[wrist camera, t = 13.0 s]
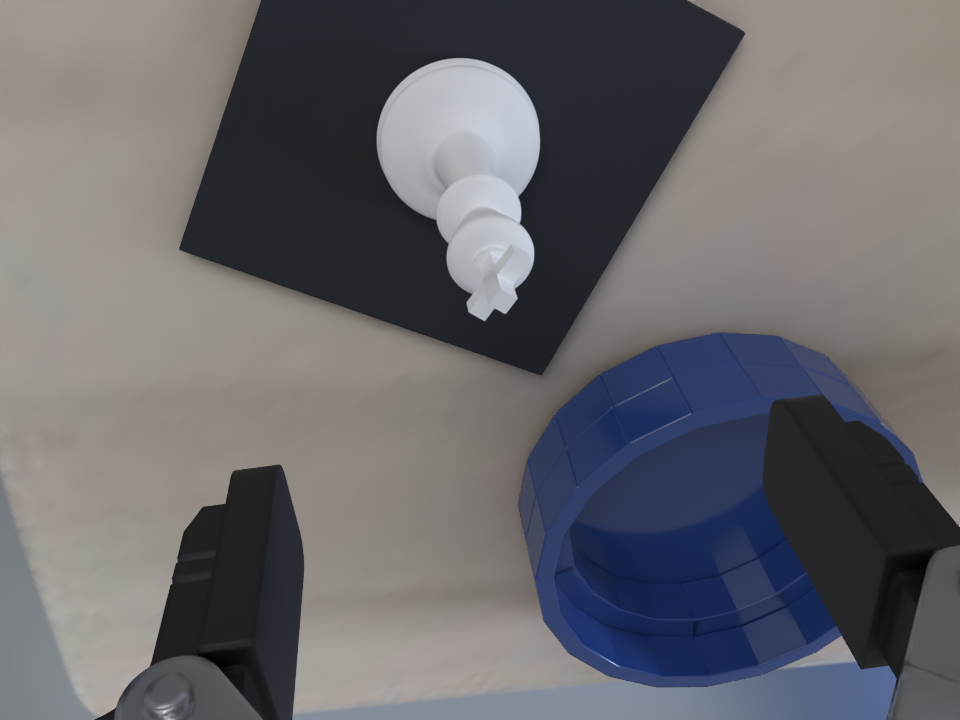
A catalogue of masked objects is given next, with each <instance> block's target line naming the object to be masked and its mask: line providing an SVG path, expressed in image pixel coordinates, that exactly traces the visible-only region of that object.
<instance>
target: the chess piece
mask: <svg viewBox="0 0 960 720" xmlns="http://www.w3.org/2000/svg"><path fill="white" fill-rule="evenodd" d="M377 152H378V157H379V161H380V164H381V167H382V170H383V172H384V174H385V176H386V178H387V180H388V182H389V184H390V186H391V187H392V189H393V190H394V192H395V193H396V194H397V195H398V196H399V198H400V199H401V200H402V201H403V202H404V203H406V204H407V205H408V206H409V207H411V208H412V209H413V210H415V211H417V212H418V213H420V214H422V215H424V216H426V217H429V218H431V219H435V220H437V225H438V229H439V231H440V233H441V235H442V236H443V238H444V239H445V240H446V242H447V243H449V245H448V249H447V257H446V258H447V267H448V270H449V273H450V275H451V277H452V278H453V280H454V281H455V282H456V283H457V285H458V286H460V287H461V288H462V289H463V290H465V291H467V292H469V293H471V294H472V296H471V297H470V298H469V300H468V301H467V302H466V303H467V307H468V312H469V313H471V314H473V315H474V316H476V317H478V318H480V319H482V320H483V321H485V320H486V319H487V318H488V316H489V315H490V314H491V313H492V311H493V310H494V309H497V310H499V311H501V312H502V313H504V314H506V313H507V312H508V310H509V309H510V308H511V307H512V305H513V304H514V303H515V301H516V300H517V299H518V298H517V295H516V292H515V288H517V287H518V286H519V285H520V284H521V283H522V282H523V281H524V280H525V279H526V278H527V276H528V275H529V273H530V271H531V269H532V266H533V262H534V246H533V242H532V240H531V238H530V236H529V234H528V232H527V231H526V230H525V229H524V228H523V226H521V225H520V220H521V205H520V201H519V198H518V196H519V195H520V194H521V193H522V192H523V191H524V189H525V188H526V186H527V185H528V183H529V182H530V180H531V178H532V176H533V174H534V171H535V169H536V166H537V162H538V158H539V152H540V132H539V123H538V118H537V114H536V111H535V108H534V106H533V104H532V102H531V100H530V98H529V96H528V94H527V93H526V91H525V90H524V89H523V88H522V86H521V85H520V84H519V83H518V82H517V81H516V80H515V79H514V78H513V77H512V76H510V75H509V74H508V73H506V72H505V71H503V70H502V69H500V68H498V67H496V66H494V65H492V64H489V63H486V62H483V61H480V60H475V59H468V58H452V59H445V60H440V61H437V62H434V63H431V64H428V65H426V66H424V67H422V68H420V69H418V70H416V71H415V72H413V73H412V74H410V75H409V76H408V77H406V78H405V79H404V80H403V81H402V82H401V83H400V84H399V85H398V86H397V87H396V88H395V90H394V91H393V92H392V94H391V95H390V97H389V98H388V100H387V102H386V104H385V105H384V108H383V110H382V113H381V115H380V119H379V123H378V128H377Z"/></svg>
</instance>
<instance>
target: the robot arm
mask: <svg viewBox="0 0 960 720" xmlns="http://www.w3.org/2000/svg"><path fill="white" fill-rule="evenodd" d="M763 486H764V492H765V496H766V500H767V503H768V505H769V508H770V510H771V512H772V513H773V515H774V517H775V519H776V520H777V522H778V524H779V526H780V528H781V529H782V531H783V533H784V535H785V536H786V538H787V540H788V542H789V543H790V545H791V547H792V549H793V550H794V552H795V554H796V556H797V557H798V559H799V561H800V563H801V565H802V566H803V568H804V570H805V572H806V573H807V575H808V577H809V579H810V580H811V582H812V584H813V586H814V587H815V589H816V591H817V593H818V594H819V596H820V598H821V600H822V601H823V603H824V605H825V607H826V609H827V610H828V612H829V614H830V616H831V617H832V619H833V621H834V623H835V624H836V626H837V628H838V630H839V631H840V633H841V635H842V637H843V638H844V640H845V642H846V644H847V645H848V647H849V649H850V651H851V653H852V654H853V656H854V658H855V660H856V661H857V663H858V665H859V667H860V668H861V669H867V668H874V667H880V666H887V665H889V667H890V668H891V670H892V672H893V673H894V674H895V676H896V678H897V680H896V684H895V688H894V692H893V695H892V699H891V703H890V708H889V712H888V716H887V720H960V527H959V526H958V525H957V524H956V522H955V521H954V520H953V519H952V517H951V516H950V515H949V514H948V513H947V511H946V510H945V509H944V508H943V506H942V505H941V504H940V503H939V501H938V500H937V499H936V498H935V497H934V495H933V494H932V493H931V492H930V490H929V489H928V488H927V487H926V485H925V484H924V483H923V482H922V483H920V481H919V477H918V476H917V474H916V473H915V472H914V471H913V470H912V468H911V467H910V466H909V465H908V464H907V465H906V464H905V460H904V458H903V457H902V456H901V455H900V454H899V452H898V451H897V450H896V449H895V447H894V446H893V445H892V444H891V442H890V441H889V440H888V439H887V438H886V437H884V436H883V435H881V434H880V433H878V432H877V431H875V430H873V429H872V428H870V427H869V426H867V425H865V424H864V423H862V422H861V421H859V420H857V421H849V422H845V421H844V420H843V419H842V417H841V416H840V415H839V414H838V412H837V411H836V410H835V408H834V407H833V406H832V404H831V403H830V402H829V400H828V399H827V398H826V397H825V396H823V395H821V394H817V395H810V396H802V397H795V398H787V399H780V400H775V401H774V402H773V403H772V405H771V409H770V415H769V423H768V432H767V440H766V449H765V457H764V466H763ZM177 559H178V563H176V565H175V569H174V573H173V577H172V582H173V583H172V585H170V589H169V593H168V597H167V601H166V605H165V609H164V613H163V617H162V621H161V626H160V630H159V634H158V638H157V642H156V646H155V650H154V654H153V658H152V662H151V665H150V667H149V668H147V669H146V670H144V671H143V672H142V673H140V674H139V675H138V676H137V677H136V678H135V679H134V680H133V681H131V683H130V684H129V685H128V686H127V687H126V689H125V690H124V692H123V693H122V695H121V697H120V699H119V701H118V703H117V706H116V708H115V709H113V710H112V711H110V712H109V713H107V714H105V715H104V716H101V717H99V718H97V719H95V720H292V715H293V703H294V691H295V678H296V666H297V653H298V641H299V629H300V616H301V604H302V591H303V579H304V555H303V545H302V539H301V534H300V530H299V526H298V523H297V519H296V515H295V511H294V507H293V504H292V500H291V496H290V492H289V488H288V485H287V481H286V477H285V474H284V471H283V468H282V466H281V465H272V466H265V467H257V468H250V469H242V470H235V471H233V472H232V475H231V479H230V484H229V489H228V494H227V499H226V504H221V505H214V506H206V507H202V509H201V510H200V511H199V513H198V514H197V515H196V517H195V518H194V519H193V520H192V522H191V523H190V524H189V526H188V527H187V528H186V530H185V531H184V533H183V537H182V541H181V545H180V549H179V553H178V557H177Z"/></svg>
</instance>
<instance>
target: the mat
mask: <svg viewBox="0 0 960 720" xmlns="http://www.w3.org/2000/svg"><path fill="white" fill-rule="evenodd" d="M744 35H745V32H744V31H742V30H741V29H739V28H737V27H735V26H733V25H731V24H730V23H728V22H726V21H724V20H722V19H720V18H718V17H716V16H715V15H713V14H711V13H709V12H707V11H705V10H703V9H702V8H700V7H698V6H696V5H694V4H692V3H690V2H688V1H687V0H261V3H260V6H259V9H258V12H257V15H256V18H255V21H254V24H253V27H252V30H251V33H250V36H249V39H248V42H247V45H246V48H245V51H244V54H243V57H242V60H241V63H240V66H239V69H238V72H237V75H236V78H235V81H234V84H233V87H232V90H231V93H230V96H229V99H228V102H227V105H226V108H225V111H224V114H223V117H222V120H221V123H220V127H219V130H218V133H217V136H216V139H215V142H214V145H213V148H212V151H211V154H210V157H209V160H208V163H207V166H206V169H205V172H204V175H203V178H202V181H201V184H200V187H199V190H198V193H197V196H196V199H195V202H194V205H193V208H192V211H191V214H190V217H189V220H188V223H187V226H186V229H185V232H184V235H183V238H182V241H181V244H180V247H179V249H180V250H181V251H184V252H187V253H190V254H193V255H196V256H199V257H201V258H204V259H207V260H210V261H213V262H216V263H219V264H222V265H224V266H227V267H230V268H233V269H236V270H239V271H242V272H245V273H248V274H250V275H253V276H256V277H259V278H262V279H265V280H268V281H271V282H273V283H276V284H279V285H282V286H285V287H288V288H291V289H294V290H297V291H299V292H302V293H305V294H308V295H311V296H314V297H317V298H320V299H323V300H325V301H328V302H331V303H334V304H337V305H340V306H343V307H346V308H348V309H351V310H354V311H357V312H360V313H363V314H366V315H369V316H372V317H374V318H377V319H380V320H383V321H386V322H389V323H392V324H395V325H397V326H400V327H403V328H406V329H409V330H412V331H415V332H418V333H421V334H423V335H426V336H429V337H432V338H435V339H438V340H441V341H444V342H447V343H449V344H452V345H455V346H458V347H461V348H464V349H467V350H470V351H472V352H475V353H478V354H481V355H484V356H487V357H490V358H493V359H496V360H498V361H501V362H504V363H507V364H510V365H513V366H516V367H519V368H521V369H524V370H527V371H530V372H533V373H536V374H539V375H542V374H543V372H544V370H545V369H546V367H547V365H548V364H549V362H550V360H551V359H552V357H553V355H554V354H555V352H556V350H557V349H558V347H559V345H560V344H561V342H562V340H563V339H564V337H565V335H566V334H567V332H568V330H569V329H570V327H571V325H572V323H573V322H574V320H575V318H576V317H577V315H578V313H579V312H580V310H581V308H582V307H583V305H584V303H585V302H586V300H587V298H588V297H589V295H590V293H591V292H592V290H593V288H594V287H595V285H596V283H597V282H598V280H599V278H600V276H601V275H602V273H603V271H604V270H605V268H606V266H607V265H608V263H609V261H610V260H611V258H612V256H613V255H614V253H615V251H616V250H617V248H618V246H619V245H620V243H621V241H622V240H623V238H624V236H625V235H626V233H627V231H628V229H629V228H630V226H631V224H632V223H633V221H634V219H635V218H636V216H637V214H638V213H639V211H640V209H641V208H642V206H643V204H644V203H645V201H646V199H647V198H648V196H649V194H650V193H651V191H652V189H653V188H654V186H655V184H656V182H657V181H658V179H659V177H660V176H661V174H662V172H663V171H664V169H665V167H666V166H667V164H668V162H669V161H670V159H671V157H672V156H673V154H674V152H675V151H676V149H677V147H678V146H679V144H680V142H681V141H682V139H683V137H684V135H685V134H686V132H687V130H688V129H689V127H690V125H691V124H692V122H693V120H694V119H695V117H696V115H697V114H698V112H699V110H700V109H701V107H702V105H703V104H704V102H705V100H706V99H707V97H708V95H709V94H710V92H711V90H712V88H713V87H714V85H715V83H716V82H717V80H718V78H719V77H720V75H721V73H722V72H723V70H724V68H725V67H726V65H727V63H728V62H729V60H730V58H731V57H732V55H733V53H734V52H735V50H736V48H737V47H738V45H739V43H740V41H741V40H742V38H743V36H744ZM452 58H468V59H475V60H480V61H483V62H486V63H489V64H492V65H494V66H496V67H498V68H500V69H502V70H503V71H505V72H506V73H508V74H509V75H510V76H512V77H513V78H514V79H515V80H516V81H517V82H518V83H519V84H520V85H521V86H522V88H523V89H524V90H525V91H526V93H527V94H528V96H529V98H530V100H531V102H532V104H533V106H534V108H535V111H536V114H537V118H538V123H539V132H540V152H539V158H538V162H537V166H536V169H535V171H534V174H533V176H532V178H531V180H530V182H529V183H528V185H527V186H526V188H525V189H524V191H523V192H522V193H521V194H520V195H519V196H518V198H519V201H520V205H521V220H520V225H521V226H523V228H524V229H525V230H526V231H527V232H528V234H529V236H530V238H531V240H532V242H533V246H534V262H533V266H532V269H531V271H530V273H529V275H528V276H527V278H526V279H525V280H524V281H523V282H522V283H521V284H520V285H519V286H518V287H517V288H515V292H516V295H517V298H518V299H517V300H516V301H515V303H514V304H513V305H512V307H511V308H510V309H509V310H508V312H507V313H506V314H504V313H502V312H501V311H499V310H497V309H494V310H493V311H492V313H491V314H490V315H489V316H488V318H487V319H486V320H485V321H483V320H482V319H480V318H478V317H476V316H474V315H473V314H471V313H469V312H468V307H467V303H466V302H467V301H468V300H469V298H470V297H471V296H472V294H471V293H469V292H467V291H465V290H463V289H462V288H461V287H460V286H458V285H457V283H456V282H455V281H454V280H453V278H452V277H451V275H450V273H449V270H448V267H447V258H446V257H447V249H448V245H449V243H447V242H446V240H445V239H444V238H443V236H442V235H441V233H440V231H439V229H438V225H437V220H435V219H431V218H429V217H426V216H424V215H422V214H420V213H418V212H417V211H415V210H413V209H412V208H411V207H409V206H408V205H407V204H406V203H404V202H403V201H402V200H401V199H400V198H399V196H398V195H397V194H396V193H395V192H394V190H393V189H392V187H391V186H390V184H389V182H388V180H387V178H386V176H385V174H384V172H383V170H382V167H381V164H380V161H379V157H378V152H377V128H378V123H379V119H380V115H381V113H382V110H383V108H384V105H385V104H386V102H387V100H388V98H389V97H390V95H391V94H392V92H393V91H394V90H395V88H396V87H397V86H398V85H399V84H400V83H401V82H402V81H403V80H404V79H405V78H406V77H408V76H409V75H410V74H412V73H413V72H415V71H416V70H418V69H420V68H422V67H424V66H426V65H428V64H431V63H434V62H437V61H440V60H445V59H452Z"/></svg>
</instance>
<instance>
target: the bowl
mask: <svg viewBox="0 0 960 720" xmlns="http://www.w3.org/2000/svg"><path fill="white" fill-rule="evenodd" d="M817 394H821V395H823V396H825V397H826V398H827V399H828V400H829V402H830V403H831V404H832V406H833V407H834V408H835V410H836V411H837V412H838V414H839V415H840V416H841V417H842V419H843V420H844V421H845V422H849V421H857V420H859V421H861V422H862V423H864V424H865V425H867V426H869V427H870V428H872V429H873V430H875V431H877V432H878V433H880V434H881V435H883V436H884V437H886V438H887V439H888V440H889V441H890V442H891V444H892V445H893V446H894V447H895V449H896V450H897V451H898V452H899V454H900V455H901V456H902V457H903V458H904V460H905V464H906V465H907V464H908V465H909V466H910V467H911V468H912V470H913V471H914V472H915V473H916V474H917V476H918V477H919V481H920V483H922V482H923V480H922V477H921V474H920V471H919V468H918V465H917V462H916V459H915V456H914V454H913V452H912V451H911V450H910V449H909V447H908V446H907V445H906V444H905V443H904V441H903V440H902V439H901V438H900V437H899V435H898V434H897V433H896V432H895V431H894V429H893V428H892V427H891V426H890V425H889V423H888V422H887V421H886V420H885V419H884V418H883V417H882V415H881V414H880V413H879V411H878V410H877V409H876V408H875V407H874V405H873V404H872V403H871V402H870V401H869V399H868V398H867V397H866V396H865V395H864V393H863V392H862V391H861V390H860V389H859V387H858V386H857V385H856V384H855V383H854V382H853V381H852V380H851V379H850V378H849V377H848V376H847V375H846V374H845V373H844V372H843V371H841V370H840V369H839V368H838V367H837V366H836V365H835V364H834V363H833V362H832V361H831V360H830V359H829V358H828V357H826V356H825V355H824V354H821V353H819V352H816V351H814V350H811V349H809V348H806V347H804V346H801V345H799V344H796V343H794V342H791V341H789V340H786V339H784V338H781V337H777V336H773V335H756V334H739V333H723V332H720V333H714V334H709V335H705V336H700V337H695V338H691V339H686V340H681V341H677V342H672V343H668V344H663V345H659V346H658V347H653V348H651V349H649V350H647V351H645V352H643V353H641V354H639V355H637V356H635V357H633V358H631V359H629V360H627V361H625V362H623V363H621V364H619V365H617V366H615V367H613V368H611V369H609V370H607V371H605V372H603V373H602V374H601V375H598V376H597V377H596V378H595V379H594V380H593V381H592V382H590V383H589V384H588V385H587V386H586V387H585V388H584V389H582V390H581V391H580V392H579V393H578V394H577V395H576V396H575V397H573V398H572V399H571V400H570V401H569V402H568V403H567V404H565V405H564V406H563V407H562V408H561V409H560V410H559V411H558V412H556V415H554V417H553V418H552V420H551V422H550V423H549V425H548V426H547V428H546V430H545V431H544V433H543V434H542V436H541V438H540V439H539V441H538V442H537V444H536V446H535V447H534V449H533V451H532V452H531V454H530V455H529V457H528V460H527V463H526V468H525V473H524V477H523V482H522V487H521V492H520V497H519V502H518V506H519V511H520V516H521V521H522V525H523V530H524V535H525V539H526V544H527V549H528V553H529V558H530V562H531V567H532V571H533V576H534V580H535V585H536V589H537V594H538V598H539V603H540V607H541V612H542V617H543V620H544V622H545V623H546V625H547V626H548V627H549V629H550V630H551V631H552V632H553V634H554V635H555V636H556V638H557V639H558V640H559V641H560V643H561V644H562V645H563V647H564V648H565V649H566V650H567V652H568V653H569V654H571V655H572V656H574V657H576V658H577V659H579V660H581V661H583V662H584V663H586V664H588V665H590V666H591V667H593V668H595V669H597V670H598V671H600V672H602V673H603V674H605V675H608V676H609V677H613V678H618V679H622V680H626V681H631V682H635V683H640V684H644V685H648V686H653V687H655V686H656V687H708V686H713V685H717V684H722V683H727V682H731V681H736V680H741V679H745V678H750V677H754V676H759V675H762V674H766V673H768V672H770V671H773V670H775V669H778V668H780V667H782V666H785V665H787V664H789V663H792V662H794V661H797V660H799V659H801V658H804V657H806V656H809V655H811V654H813V653H816V652H817V651H819V650H820V649H822V648H823V647H825V646H826V645H828V644H829V643H831V642H832V641H834V640H835V639H837V638H838V637H840V636H841V633H840V631H839V630H838V628H837V626H836V624H835V623H834V621H833V619H832V617H831V616H830V614H829V612H828V610H827V609H826V607H825V605H824V603H823V601H822V600H821V598H820V596H819V594H818V593H817V591H816V589H815V587H814V586H813V584H812V582H811V580H810V579H809V577H808V575H807V573H806V572H805V570H804V568H803V566H802V565H801V563H800V561H799V559H798V557H797V556H796V554H795V552H794V550H793V549H792V547H791V545H790V543H789V542H788V540H787V538H786V536H785V535H784V533H783V531H782V529H781V528H780V526H779V524H778V522H777V520H776V519H775V517H774V515H773V513H772V512H771V510H770V508H769V505H768V503H767V500H766V496H765V492H764V486H763V466H764V457H765V449H766V440H767V432H768V423H769V415H770V409H771V405H772V403H773V402H774V401H775V400H780V399H787V398H795V397H802V396H810V395H817Z"/></svg>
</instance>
